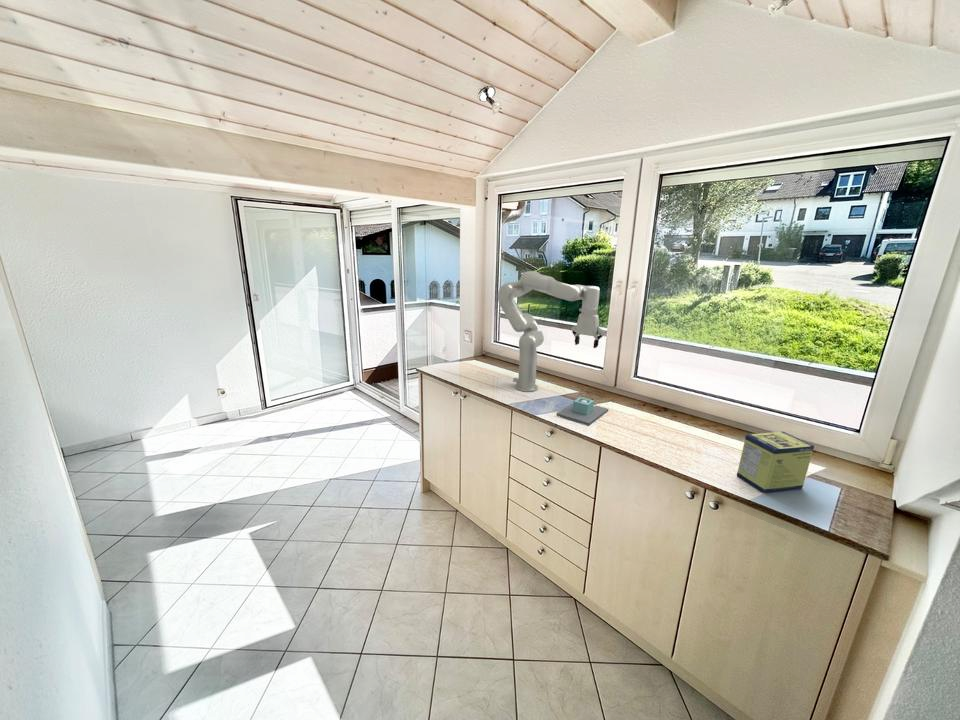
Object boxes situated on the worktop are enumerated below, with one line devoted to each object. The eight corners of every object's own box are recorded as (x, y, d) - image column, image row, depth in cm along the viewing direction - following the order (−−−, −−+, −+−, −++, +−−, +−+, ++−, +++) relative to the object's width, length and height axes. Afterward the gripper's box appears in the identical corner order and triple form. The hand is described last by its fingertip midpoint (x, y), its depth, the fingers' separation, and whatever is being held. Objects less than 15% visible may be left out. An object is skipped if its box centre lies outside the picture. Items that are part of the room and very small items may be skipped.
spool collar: (572, 411, 175) (573, 401, 174) (579, 406, 181) (580, 397, 179) (586, 415, 171) (587, 404, 170) (592, 410, 176) (594, 400, 175)
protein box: (803, 489, 121) (815, 445, 117) (763, 494, 117) (775, 449, 113) (772, 471, 131) (783, 430, 127) (735, 475, 127) (744, 434, 123)
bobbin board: (556, 415, 173) (557, 403, 171) (577, 402, 189) (578, 391, 188) (589, 425, 163) (590, 412, 162) (608, 411, 180) (609, 399, 178)
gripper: (569, 310, 185) (566, 344, 190) (603, 314, 175) (599, 350, 179) (576, 309, 191) (573, 342, 195) (609, 313, 180) (605, 347, 185)
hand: (586, 345), depth 187 cm, fingers open, 9 cm apart
